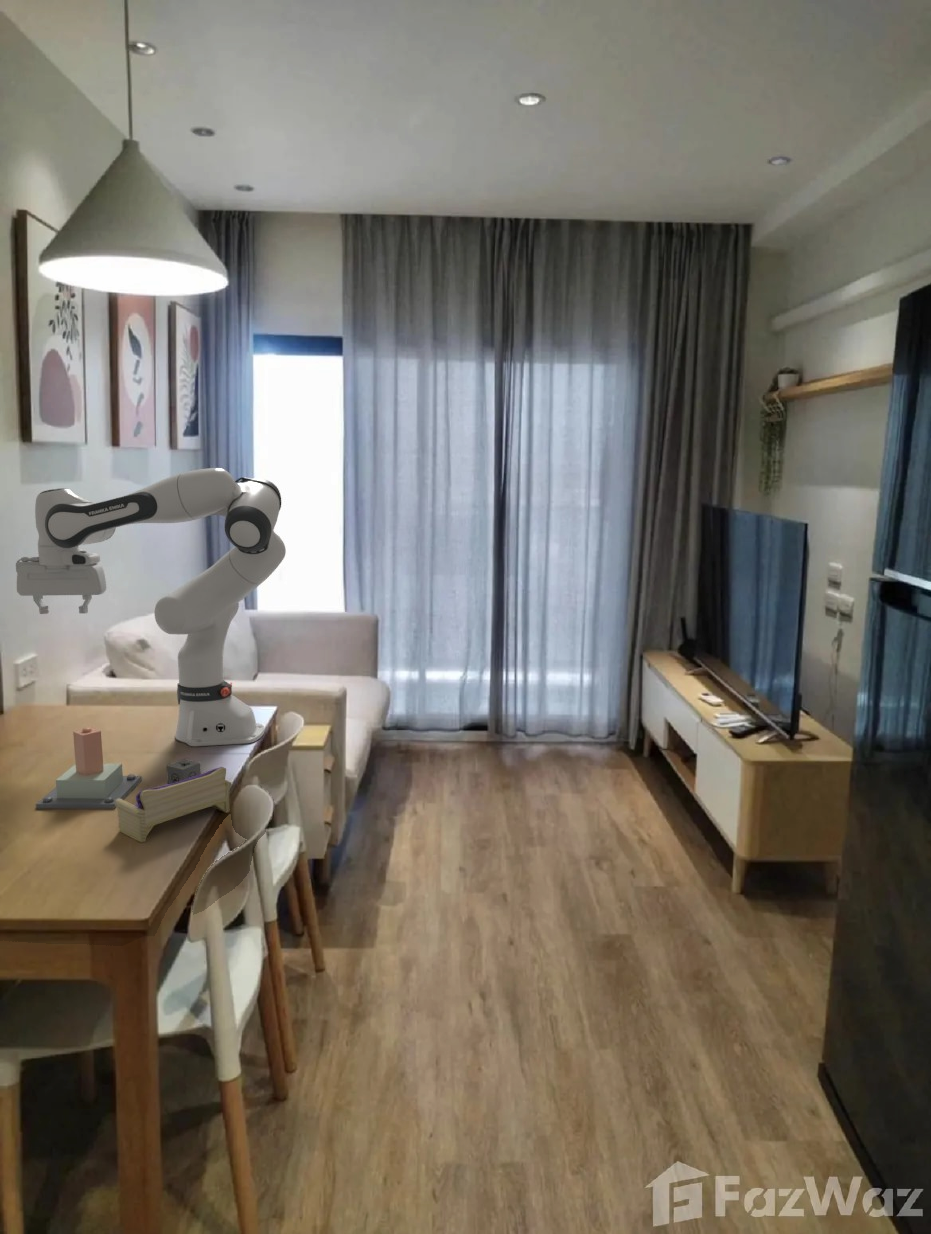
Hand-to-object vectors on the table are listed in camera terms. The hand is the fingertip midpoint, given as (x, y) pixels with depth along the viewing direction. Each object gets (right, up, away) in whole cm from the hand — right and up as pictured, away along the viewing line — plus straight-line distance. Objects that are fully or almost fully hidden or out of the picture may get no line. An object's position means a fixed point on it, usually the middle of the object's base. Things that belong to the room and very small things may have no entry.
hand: (63, 613), depth 209 cm
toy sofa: (+40, -42, -37) cm, 69 cm away
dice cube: (+36, -38, -19) cm, 56 cm away
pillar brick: (+17, -34, -25) cm, 46 cm away
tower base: (+17, -39, -24) cm, 49 cm away
